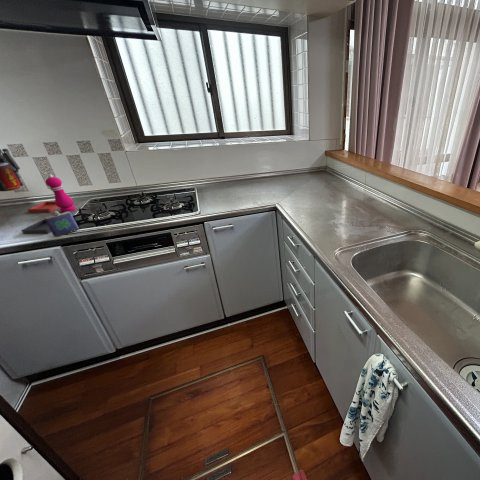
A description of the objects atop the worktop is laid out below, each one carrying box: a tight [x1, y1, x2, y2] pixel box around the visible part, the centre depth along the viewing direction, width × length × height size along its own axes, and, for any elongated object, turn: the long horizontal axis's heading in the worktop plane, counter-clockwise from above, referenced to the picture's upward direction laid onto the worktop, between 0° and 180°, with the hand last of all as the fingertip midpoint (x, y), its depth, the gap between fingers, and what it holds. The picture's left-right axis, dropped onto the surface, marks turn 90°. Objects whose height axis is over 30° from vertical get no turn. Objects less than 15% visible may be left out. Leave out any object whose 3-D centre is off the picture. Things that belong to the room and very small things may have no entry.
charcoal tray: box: [21, 219, 52, 235], centre depth 127 cm, size 11×11×2 cm
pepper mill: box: [45, 174, 77, 213], centre depth 141 cm, size 7×7×20 cm
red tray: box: [26, 200, 60, 214], centre depth 148 cm, size 11×11×2 cm
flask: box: [43, 210, 80, 238], centre depth 121 cm, size 9×3×11 cm, turn 144°
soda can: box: [0, 162, 22, 192], centre depth 125 cm, size 7×7×12 cm
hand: (12, 188), depth 128 cm, fingers closed on soda can, 7 cm apart
